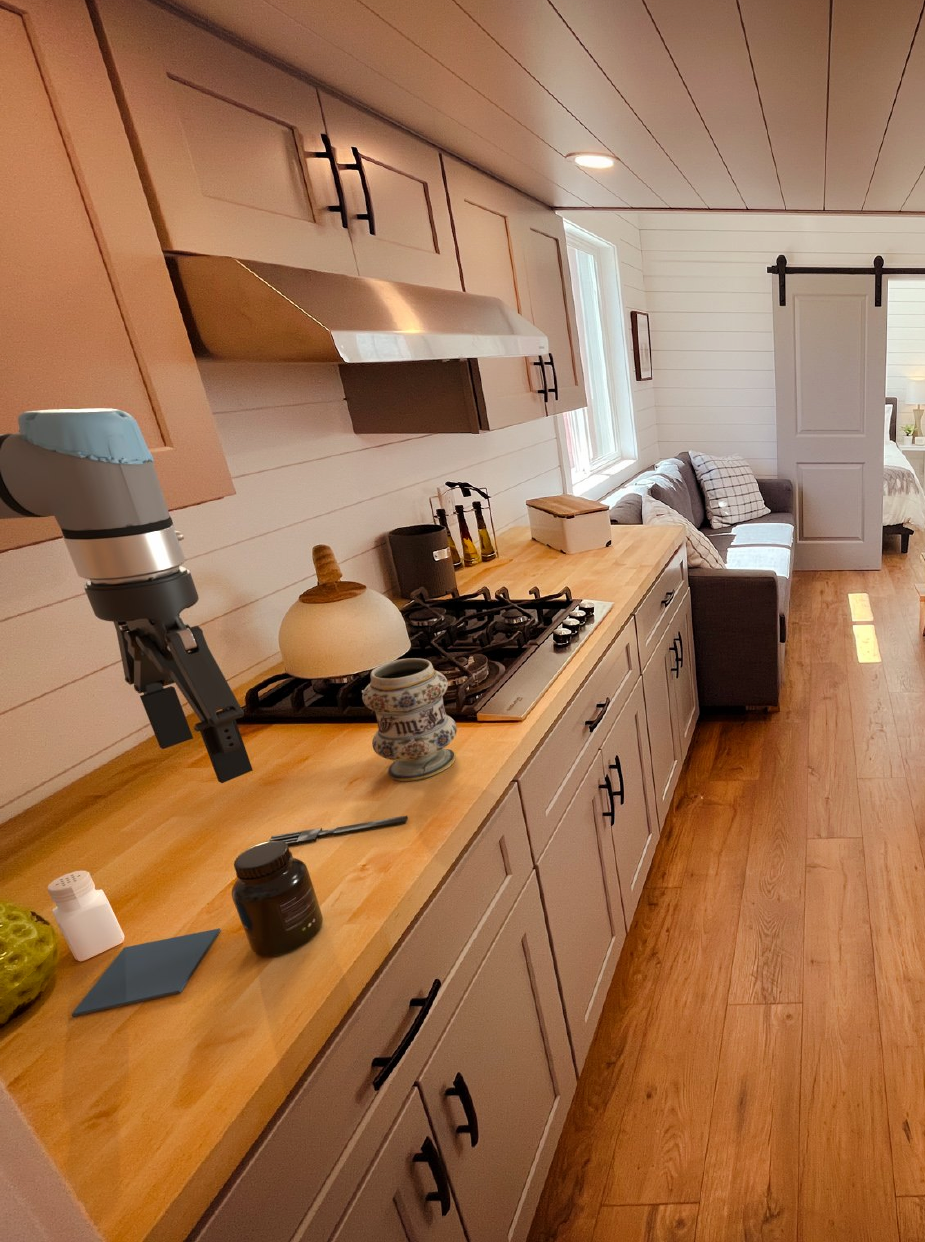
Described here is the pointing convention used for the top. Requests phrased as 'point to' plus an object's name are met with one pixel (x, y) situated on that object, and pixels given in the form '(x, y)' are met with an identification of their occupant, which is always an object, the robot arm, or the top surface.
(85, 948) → the pepper shaker
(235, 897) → the supplement bottle
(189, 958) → the dark blue square coaster
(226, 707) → the robot arm
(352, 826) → the fork
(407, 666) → the apothecary jar
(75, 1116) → the top surface
